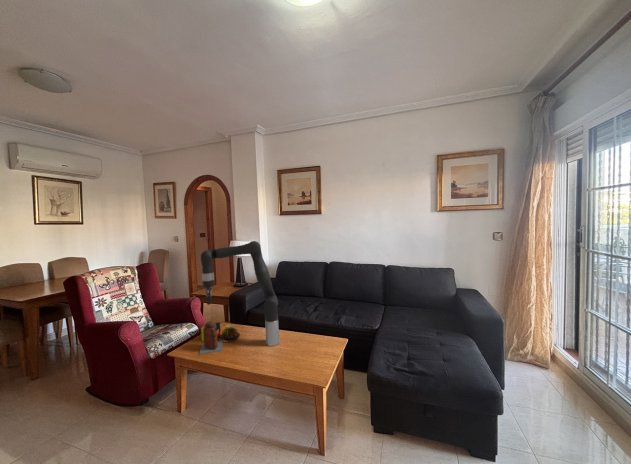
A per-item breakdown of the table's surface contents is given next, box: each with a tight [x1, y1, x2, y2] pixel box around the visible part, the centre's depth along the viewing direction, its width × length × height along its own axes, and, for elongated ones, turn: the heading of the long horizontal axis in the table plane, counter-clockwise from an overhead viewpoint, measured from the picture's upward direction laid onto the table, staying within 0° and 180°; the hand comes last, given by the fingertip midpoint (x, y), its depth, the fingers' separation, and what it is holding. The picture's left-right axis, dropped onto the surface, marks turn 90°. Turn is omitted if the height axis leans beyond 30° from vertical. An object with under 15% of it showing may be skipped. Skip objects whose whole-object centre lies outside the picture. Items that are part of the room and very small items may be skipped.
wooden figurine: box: [203, 320, 219, 350], centre depth 176 cm, size 12×6×18 cm, turn 64°
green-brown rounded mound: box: [217, 324, 241, 343], centre depth 192 cm, size 17×16×10 cm
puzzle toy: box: [200, 322, 222, 342], centre depth 192 cm, size 10×10×10 cm
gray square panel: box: [199, 341, 223, 356], centre depth 176 cm, size 14×13×1 cm
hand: (209, 302), depth 175 cm, fingers open, 8 cm apart
